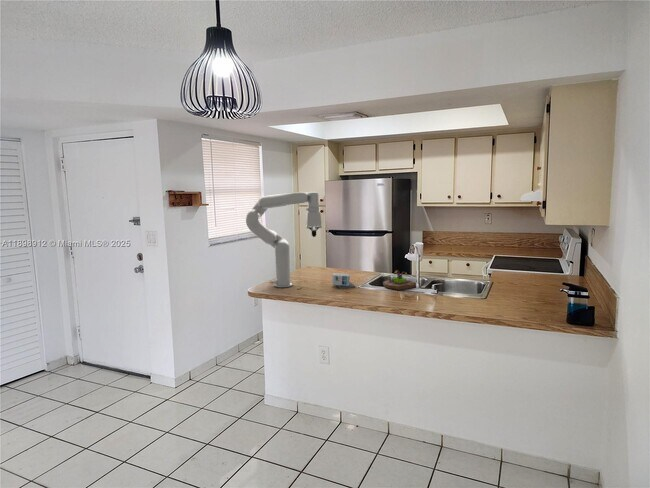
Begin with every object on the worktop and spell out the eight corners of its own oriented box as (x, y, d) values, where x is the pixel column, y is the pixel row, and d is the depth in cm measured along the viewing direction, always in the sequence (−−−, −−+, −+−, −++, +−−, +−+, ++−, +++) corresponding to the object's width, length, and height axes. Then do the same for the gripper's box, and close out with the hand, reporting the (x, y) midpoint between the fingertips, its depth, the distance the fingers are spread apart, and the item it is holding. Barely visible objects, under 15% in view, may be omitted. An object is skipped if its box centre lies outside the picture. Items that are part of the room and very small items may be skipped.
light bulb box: (332, 285, 266) (349, 286, 267) (333, 275, 266) (349, 276, 266) (331, 282, 277) (347, 283, 277) (332, 272, 276) (348, 273, 277)
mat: (338, 288, 266) (338, 286, 265) (333, 283, 281) (333, 281, 281) (355, 287, 268) (355, 285, 268) (349, 282, 283) (349, 280, 283)
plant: (377, 285, 274) (377, 269, 273) (398, 281, 285) (398, 266, 284) (399, 290, 258) (399, 273, 256) (420, 286, 269) (420, 270, 268)
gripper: (303, 210, 272) (304, 237, 274) (325, 209, 275) (325, 236, 277) (301, 210, 280) (302, 236, 282) (323, 209, 282) (323, 235, 284)
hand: (314, 236), depth 279 cm, fingers closed
